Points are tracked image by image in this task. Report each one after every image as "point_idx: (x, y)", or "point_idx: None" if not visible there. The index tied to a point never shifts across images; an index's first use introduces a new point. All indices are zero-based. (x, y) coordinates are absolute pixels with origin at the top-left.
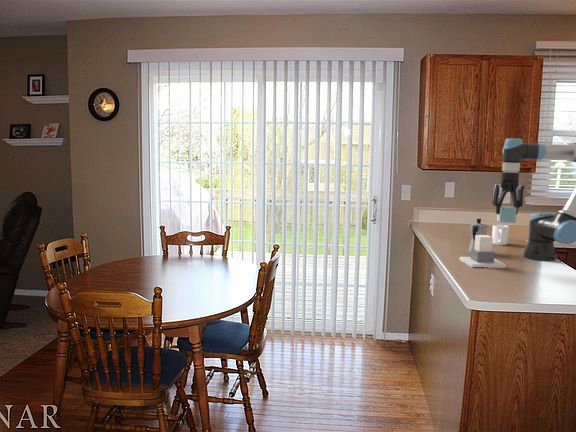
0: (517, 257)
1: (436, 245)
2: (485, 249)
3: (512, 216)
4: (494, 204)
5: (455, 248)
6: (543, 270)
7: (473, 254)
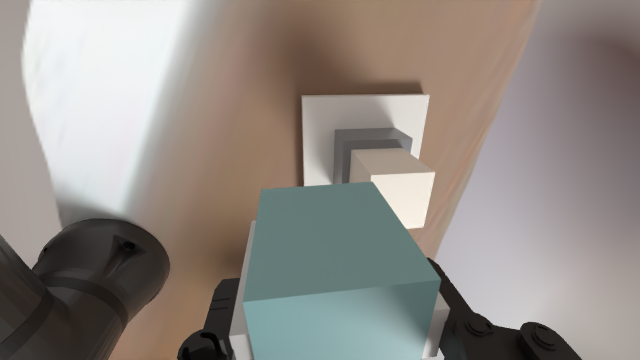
0: (196, 254)
1: None
2: (381, 151)
3: (295, 218)
4: (558, 341)
5: None
6: (157, 58)
7: None
